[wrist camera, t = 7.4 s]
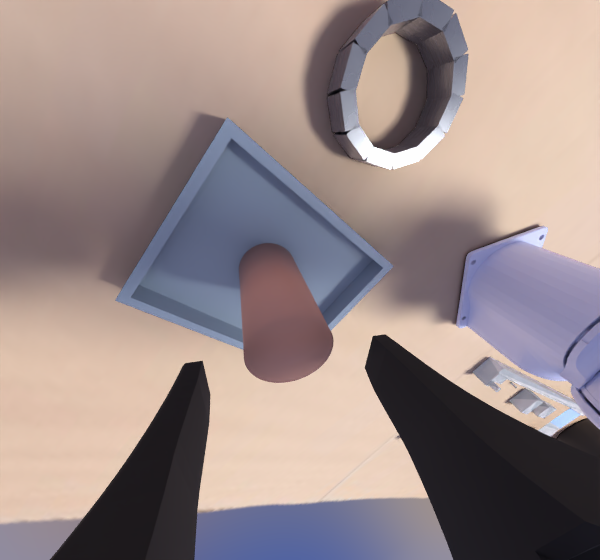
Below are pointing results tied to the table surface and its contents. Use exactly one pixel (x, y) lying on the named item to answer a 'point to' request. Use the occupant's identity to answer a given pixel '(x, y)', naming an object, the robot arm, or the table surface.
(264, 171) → the tray
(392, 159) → the sleeve
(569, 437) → the mug
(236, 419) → the table surface
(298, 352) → the peg
